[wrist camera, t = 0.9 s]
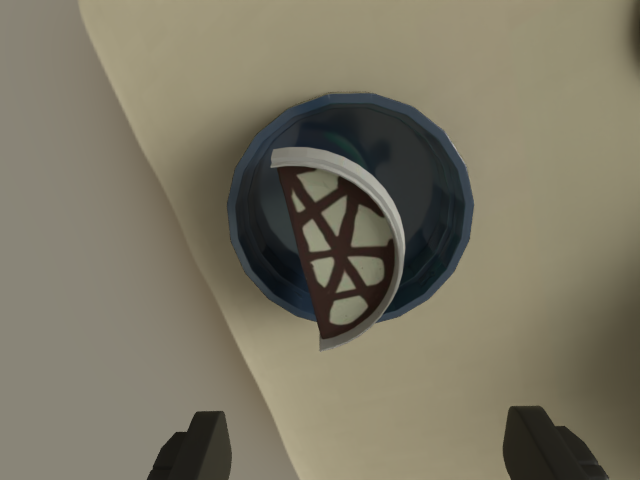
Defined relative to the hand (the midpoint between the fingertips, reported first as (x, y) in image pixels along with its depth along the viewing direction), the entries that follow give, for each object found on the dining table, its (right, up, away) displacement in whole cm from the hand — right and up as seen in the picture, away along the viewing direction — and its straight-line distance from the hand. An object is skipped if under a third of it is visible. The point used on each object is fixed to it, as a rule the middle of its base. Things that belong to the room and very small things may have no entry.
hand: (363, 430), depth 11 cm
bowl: (+1, +8, +20) cm, 22 cm away
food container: (+1, +8, +19) cm, 21 cm away
